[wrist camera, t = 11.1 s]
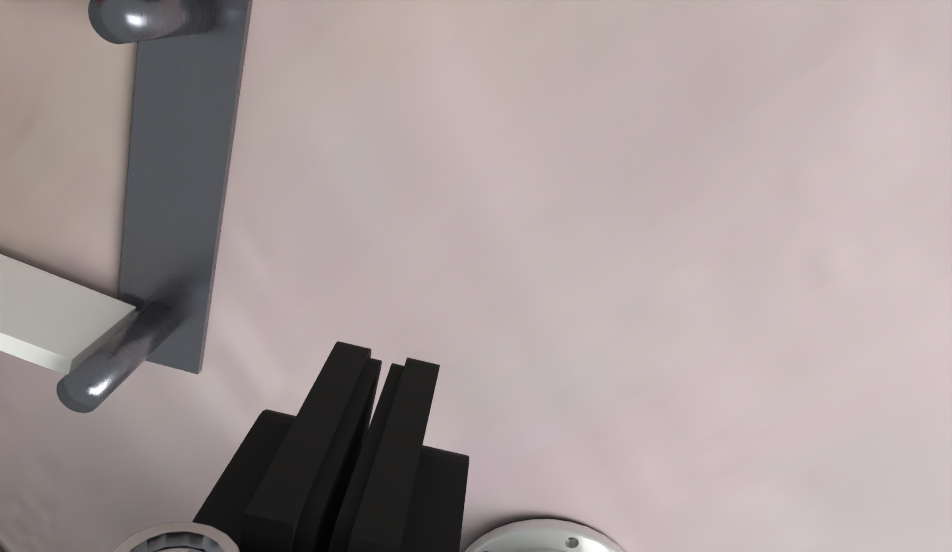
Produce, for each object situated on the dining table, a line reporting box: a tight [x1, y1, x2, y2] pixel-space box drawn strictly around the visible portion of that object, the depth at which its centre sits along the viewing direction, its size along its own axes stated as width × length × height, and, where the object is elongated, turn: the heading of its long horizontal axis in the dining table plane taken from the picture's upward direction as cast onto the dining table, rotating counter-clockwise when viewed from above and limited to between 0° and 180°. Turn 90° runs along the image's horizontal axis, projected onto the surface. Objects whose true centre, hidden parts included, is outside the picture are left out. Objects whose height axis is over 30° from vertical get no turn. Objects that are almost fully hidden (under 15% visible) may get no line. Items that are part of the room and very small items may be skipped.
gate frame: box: [57, 0, 252, 413], centre depth 33 cm, size 22×17×8 cm
